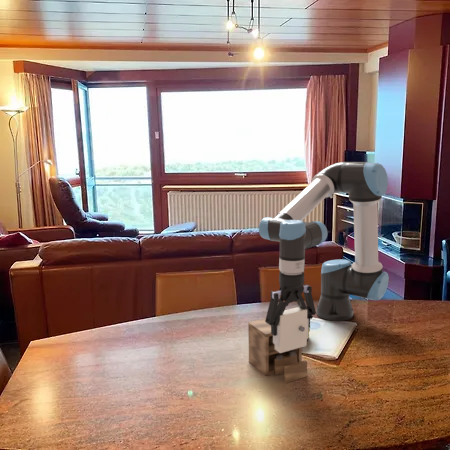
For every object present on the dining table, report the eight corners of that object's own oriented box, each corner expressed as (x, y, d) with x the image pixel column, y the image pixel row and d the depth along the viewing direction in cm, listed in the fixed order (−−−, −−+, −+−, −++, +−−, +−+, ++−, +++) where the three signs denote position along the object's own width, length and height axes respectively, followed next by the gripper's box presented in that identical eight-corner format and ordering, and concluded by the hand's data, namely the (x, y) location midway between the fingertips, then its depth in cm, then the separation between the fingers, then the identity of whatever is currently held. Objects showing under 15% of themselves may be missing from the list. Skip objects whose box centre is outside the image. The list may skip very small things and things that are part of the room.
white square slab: (274, 349, 137) (274, 312, 135) (300, 342, 142) (301, 306, 139) (282, 354, 134) (282, 317, 131) (308, 347, 138) (309, 310, 136)
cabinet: (248, 361, 149) (248, 322, 147) (283, 351, 156) (283, 313, 153) (277, 385, 134) (278, 342, 132) (314, 373, 141) (315, 332, 138)
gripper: (267, 280, 125) (266, 354, 129) (329, 269, 135) (327, 337, 140) (253, 274, 132) (253, 343, 136) (313, 263, 142) (311, 328, 146)
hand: (290, 340), depth 138 cm, fingers closed on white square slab, 10 cm apart
